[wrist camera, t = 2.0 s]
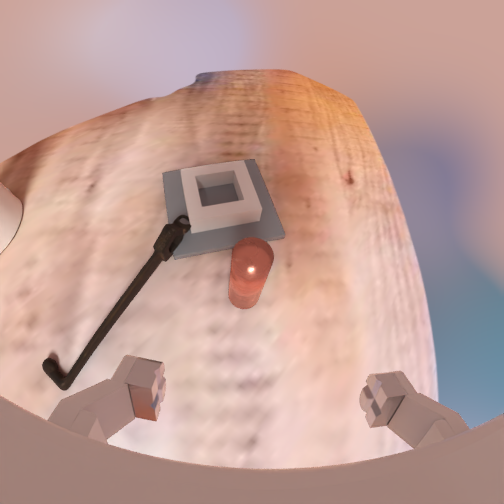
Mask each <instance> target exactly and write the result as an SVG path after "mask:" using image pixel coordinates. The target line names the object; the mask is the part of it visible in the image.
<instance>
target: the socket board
mask: <svg viewBox="0 0 504 504" xmlns="http://www.w3.org/2000/svg"><path fill="white" fill-rule="evenodd" d="M162 174H163V183H164V192H165V200H166V208H167V215H168V222H169V224H173V222H174V220H175V219H176V218H177V217H178V216H180V215H186V216H188V217H189V221H190V223H189V221H187V220H186V219H185V218H182V219H180V222H181V223H183V224H190V225H191V228H190V230H189V231H188V232H187V233H185V234H184V236H183V239H182V242H181V243H180V244H179V246H178V247H177V248H176V249H175V250H174V252H173V255H174V259H175V260H176V259H181V258H186V257H191V256H196V255H201V254H206V253H211V252H216V251H221V250H226V249H231V248H234V246H235V245H236V243H238V242H239V241H240V240H242V239H244V238H248V237H256V238H260V239H262V240H264V241H265V242H266V241H272V240H277V239H282V238H284V236H285V233H284V230H283V228H282V225H281V223H280V220H279V217H278V215H277V213H276V210H275V208H274V205H273V203H272V200H271V198H270V195H269V193H268V190H267V188H266V186H265V183H264V181H263V178H262V176H261V174H260V171H259V169H258V166H257V164H256V162H255V159H250V160H239V161H231V162H224V163H216V164H210V165H203V166H197V167H191V168H185V169H180V170H175V171H170V172H165V173H162Z"/></svg>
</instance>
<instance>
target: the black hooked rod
mask: <svg viewBox="0 0 504 504" xmlns="http://www.w3.org/2000/svg"><path fill="white" fill-rule="evenodd" d="M182 218H185V219H186V220H187V221H189V217H188V216H186V215H180V216H178V217H177V218H176V219H175V220H174V222H173V224H166V225H165V226H164V228H163V230H162V232H161V234H160V235H159V237H158V239H157V240H156V242H155V244H154V246H153V247H154V250H155V251H154V253H153V255H152V256H151V258H150V259H149V260H148V262H147V263H146V264H145V265H144V267H143V268H142V269H141V271H140V272H139V274H138V275H137V276H136V278H135V279H134V280H133V282H132V283H131V284H130V286H129V287H128V288H127V290H126V291H125V293H124V294H123V295H122V297H121V298H120V299H119V301H118V302H117V303H116V305H115V306H114V308H113V309H112V310H111V312H110V313H109V315H108V316H107V317H106V319H105V320H104V322H103V323H102V324H101V326H100V327H99V329H98V330H97V331H96V333H95V334H94V336H93V337H92V339H91V340H90V342H89V343H88V345H87V346H86V348H85V349H84V351H83V352H82V354H81V355H80V357H79V358H78V360H77V361H76V363H75V364H74V366H73V367H72V369H71V370H70V372H69V373H68V375H67V376H66V377H63V376H62V375H61V374H60V372H59V371H58V366H57V363H56V362H55V361H54V360H53V359H51V358H47V359H45V360H44V362H43V364H42V367H43V370H44V372H45V373H46V374H47V375H48V376H49V377H50V378H51V379H52V380H53V381H54V382H55V384H56V385H57V386H58V387H59V388H60V389H61V390H67V389H68V388H69V387H70V386H71V384H72V383H73V381H74V380H75V378H76V377H77V375H78V374H79V372H80V371H81V369H82V368H83V366H84V365H85V363H86V362H87V361H88V359H89V358H90V356H91V355H92V353H93V352H94V351H95V349H96V348H97V346H98V345H99V344H100V342H101V341H102V340H103V338H104V337H105V336H106V334H107V333H108V331H109V330H110V329H111V327H112V326H113V325H114V323H115V322H116V321H117V320H118V318H119V317H120V316H121V314H122V313H123V311H124V310H125V309H126V308H127V306H128V305H129V304H130V302H131V301H132V300H133V298H134V297H135V296H136V295H137V293H138V292H139V291H140V289H141V288H142V287H143V285H144V284H145V283H146V281H147V280H148V279H149V277H150V276H151V275H152V273H153V272H154V271H155V269H156V268H157V267H158V265H159V264H160V263H161V261H163V260H164V261H167V260H168V259H169V258H170V257H171V256H172V255H173V252H174V250H175V249H176V248H177V247H178V246H179V244H180V243H181V242H182V239H183V236H184V234H185V233H187V232H188V231H189V230H190V228H191V225H190V224H183V223H181V222H180V219H182ZM189 223H190V221H189Z"/></svg>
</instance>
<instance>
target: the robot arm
mask: <svg viewBox="0 0 504 504" xmlns="http://www.w3.org/2000/svg"><path fill="white" fill-rule="evenodd" d="M21 217H22V203H21V201H20V200H19V199H18V198H17V197H15V196H14V195H13V194H12V193H11V191H10V190H9V189H8V188H5V187H4V185H3V184H2V183H1V182H0V253H1V252H2V251H3V250H4V249H5V248H6V247H7V245H8V244H9V243H10V241H11V240H12V238H13V237H14V235H15V233H16V231H17V229H18V227H19V224H20V221H21ZM164 371H165V367H164V363H163V362H159V361H154V360H149V359H145V358H140V357H135V356H131V355H126V356H124V358H123V360H122V361H121V363H120V365H119V366H118V368H117V370H116V371H115V373H114V375H113V377H112V378H111V380H109V379H106V380H104V381H102V382H100V383H98V384H96V385H94V386H91V387H89V388H87V389H85V390H83V391H80V392H78V393H76V394H74V395H71V396H69V397H67V398H65V399H62V400H61V401H60V402H59V404H58V405H57V407H56V408H55V410H54V411H53V413H52V414H51V416H50V417H49V419H48V420H45V419H43V418H41V417H39V416H37V415H35V414H33V413H31V412H29V411H27V410H25V409H23V408H22V407H20V406H18V405H16V404H14V403H13V402H11V401H9V400H7V399H6V398H4V397H2V396H1V395H0V504H504V413H503V414H501V415H500V416H498V417H496V418H494V419H492V420H490V421H488V422H485V423H483V424H481V425H479V426H477V427H474V428H472V429H469V428H468V426H467V425H466V423H465V422H464V420H463V419H462V418H461V416H460V415H459V413H457V412H455V411H453V410H451V409H449V408H447V407H445V406H443V405H441V404H440V403H438V402H436V401H434V400H432V399H430V398H428V397H427V396H425V395H423V394H421V393H417V392H416V390H415V389H414V388H413V386H412V385H411V383H410V382H409V380H408V379H407V377H406V376H405V375H404V373H403V372H401V371H395V372H388V373H376V374H370V375H369V376H368V378H367V380H366V382H367V386H365V387H364V388H363V389H362V391H361V394H360V400H359V401H360V406H361V408H362V410H363V411H365V412H366V413H367V414H366V416H365V418H366V420H367V422H368V424H369V427H370V428H372V427H380V426H387V427H388V428H389V429H391V430H392V431H393V432H394V433H395V434H397V435H398V436H399V437H400V438H401V439H403V440H404V441H405V442H406V443H408V444H409V445H410V446H411V447H413V448H414V449H413V450H409V451H406V452H402V453H398V454H394V455H390V456H385V457H381V458H376V459H371V460H365V461H360V462H354V463H347V464H340V465H332V466H322V467H311V468H294V469H247V468H230V467H218V466H209V465H200V464H193V463H186V462H180V461H174V460H169V459H164V458H159V457H154V456H150V455H145V454H141V453H137V452H133V451H130V450H126V449H122V448H119V447H116V446H112V445H109V444H108V443H107V439H108V438H110V437H111V436H112V435H114V434H115V433H116V432H118V431H119V430H120V429H122V428H123V427H124V426H126V425H127V424H128V423H130V422H131V421H132V420H134V419H135V417H137V418H142V419H147V420H152V421H157V419H158V415H159V412H160V403H161V402H162V401H163V399H164V396H165V390H166V379H165V378H164V377H163V374H164Z"/></svg>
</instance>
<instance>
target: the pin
mask: <svg viewBox="0 0 504 504" xmlns="http://www.w3.org/2000/svg"><path fill="white" fill-rule="evenodd" d="M273 260H274V254H273V250H272V248H271V247H270V245H269V244H268V243H267V242H265V241H264V240H262V239H260V238H256V237H248V238H244V239H242V240H240V241H239V242H238V243H236V245H235V246H234V248H233V251H232V261H231V272H230V283H229V299H230V301H231V303H232V304H233V305H234V306H236V307H237V308H240V309H248V308H251V307H253V306H254V305H255V304H256V303H257V301H258V299H259V297H260V294H261V292H262V289H263V287H264V284H265V281H266V279H267V276H268V274H269V271H270V268H271V266H272V263H273Z"/></svg>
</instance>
